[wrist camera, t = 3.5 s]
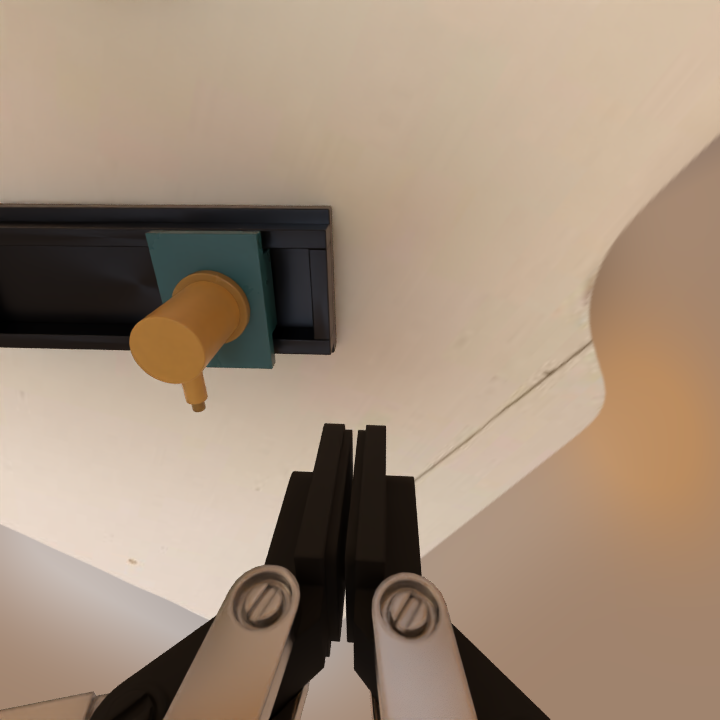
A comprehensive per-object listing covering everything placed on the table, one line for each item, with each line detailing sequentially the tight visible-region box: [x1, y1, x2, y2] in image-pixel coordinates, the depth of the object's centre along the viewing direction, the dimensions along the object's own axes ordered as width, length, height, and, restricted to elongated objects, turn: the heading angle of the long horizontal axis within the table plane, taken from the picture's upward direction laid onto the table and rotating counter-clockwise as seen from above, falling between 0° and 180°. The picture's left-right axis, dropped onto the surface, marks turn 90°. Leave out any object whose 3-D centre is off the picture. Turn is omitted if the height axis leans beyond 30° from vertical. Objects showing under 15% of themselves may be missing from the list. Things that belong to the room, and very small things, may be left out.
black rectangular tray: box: [0, 204, 336, 355], centre depth 25 cm, size 24×9×3 cm, turn 90°
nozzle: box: [129, 230, 277, 412], centre depth 21 cm, size 6×8×8 cm
